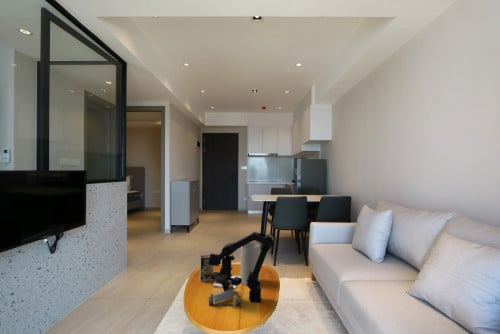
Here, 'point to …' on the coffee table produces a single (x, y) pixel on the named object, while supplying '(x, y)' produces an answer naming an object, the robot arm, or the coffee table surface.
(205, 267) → the coffee box
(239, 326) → the coffee table surface
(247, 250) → the cylinder vase
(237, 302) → the dark grey long piece
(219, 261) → the robot arm
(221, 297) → the grey block
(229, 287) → the walnut block
